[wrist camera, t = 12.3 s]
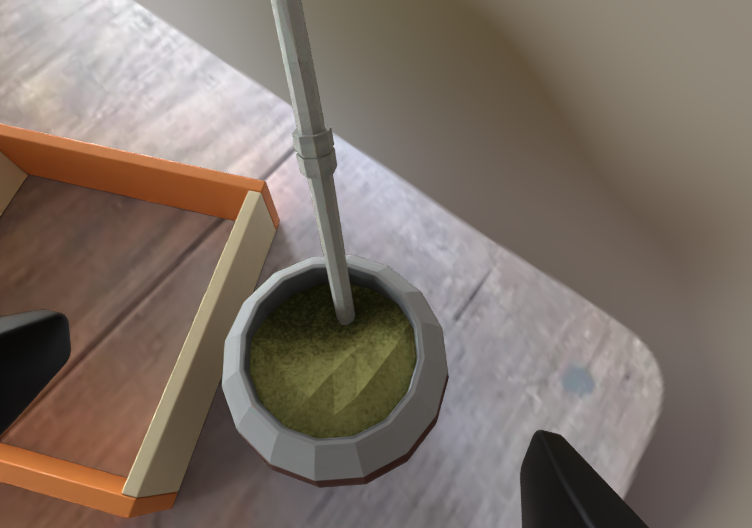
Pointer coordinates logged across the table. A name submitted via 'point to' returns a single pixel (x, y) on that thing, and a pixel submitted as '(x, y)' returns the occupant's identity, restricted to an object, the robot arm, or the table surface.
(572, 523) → the robot arm
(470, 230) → the table surface
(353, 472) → the mate gourd
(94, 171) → the rectangular frame
